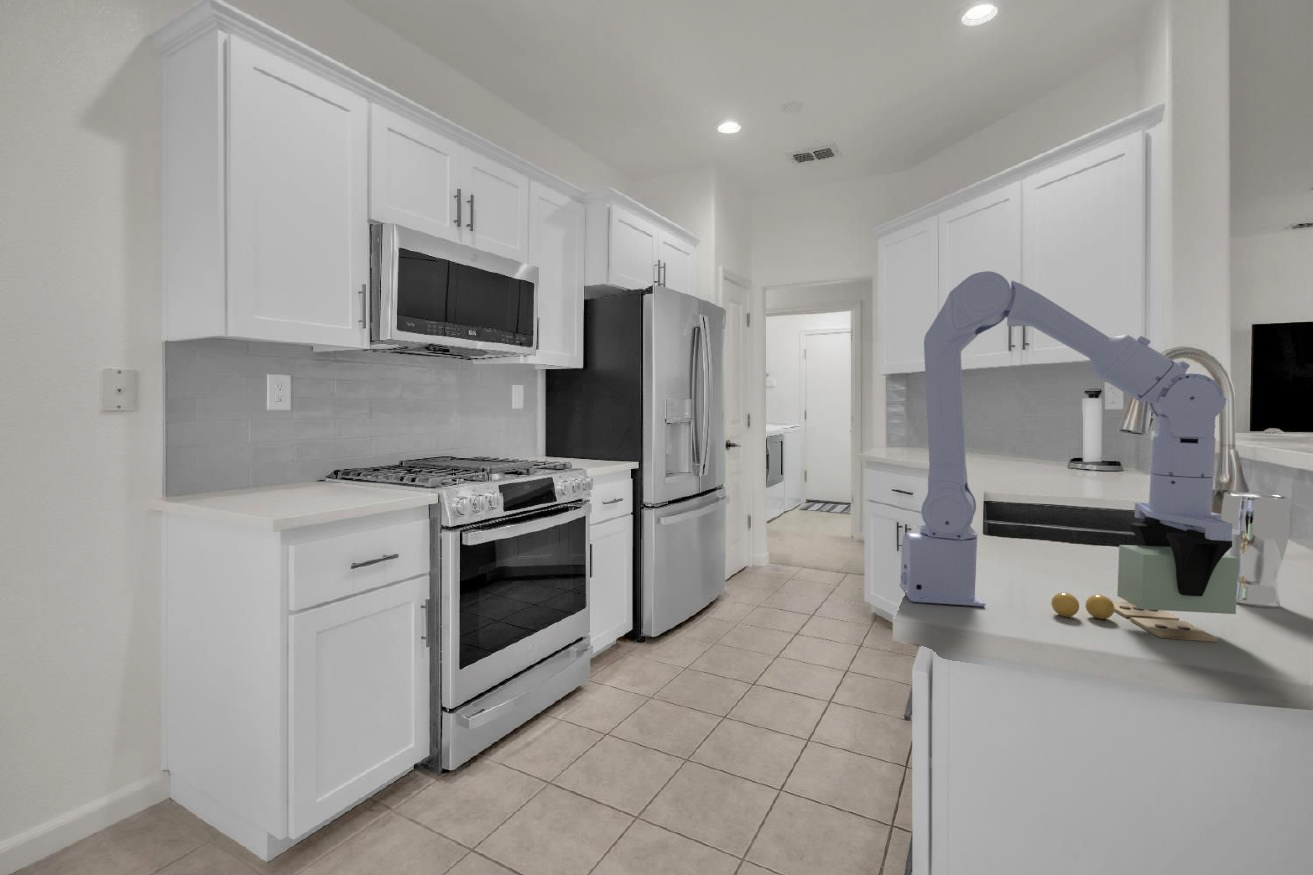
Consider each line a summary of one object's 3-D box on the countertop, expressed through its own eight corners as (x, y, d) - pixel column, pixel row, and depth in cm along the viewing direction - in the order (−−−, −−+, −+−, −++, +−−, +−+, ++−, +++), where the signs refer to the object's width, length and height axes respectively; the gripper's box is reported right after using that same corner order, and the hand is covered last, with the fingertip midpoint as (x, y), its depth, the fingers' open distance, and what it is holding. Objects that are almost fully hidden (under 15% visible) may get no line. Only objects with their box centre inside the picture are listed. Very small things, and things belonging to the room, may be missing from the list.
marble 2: (1092, 621, 78) (1093, 597, 78) (1080, 613, 81) (1081, 590, 81) (1118, 623, 77) (1120, 599, 77) (1106, 615, 80) (1107, 592, 80)
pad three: (1125, 617, 79) (1125, 613, 79) (1101, 603, 85) (1101, 599, 85) (1178, 621, 78) (1179, 617, 78) (1150, 606, 84) (1150, 602, 84)
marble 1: (1057, 618, 79) (1058, 595, 78) (1046, 611, 82) (1047, 588, 81) (1083, 620, 78) (1084, 597, 78) (1072, 613, 81) (1073, 590, 81)
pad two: (1159, 637, 73) (1159, 633, 73) (1130, 620, 78) (1130, 616, 78) (1218, 641, 72) (1218, 637, 71) (1184, 624, 77) (1184, 620, 77)
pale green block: (1141, 609, 73) (1143, 554, 73) (1117, 596, 78) (1119, 544, 78) (1235, 614, 71) (1238, 558, 71) (1204, 600, 77) (1206, 547, 76)
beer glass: (1298, 611, 83) (1306, 499, 83) (1238, 606, 85) (1244, 497, 84) (1259, 595, 90) (1266, 492, 89) (1204, 592, 91) (1210, 490, 91)
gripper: (1268, 483, 66) (1260, 609, 67) (1180, 470, 80) (1174, 574, 81) (1192, 481, 67) (1185, 604, 68) (1119, 468, 82) (1113, 570, 82)
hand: (1174, 587), depth 75 cm, fingers closed on pale green block, 5 cm apart
